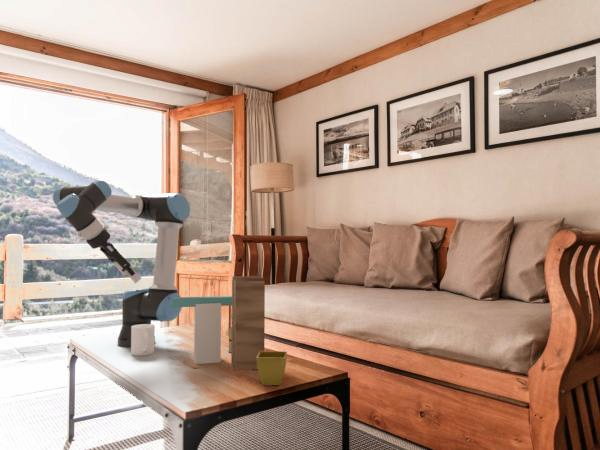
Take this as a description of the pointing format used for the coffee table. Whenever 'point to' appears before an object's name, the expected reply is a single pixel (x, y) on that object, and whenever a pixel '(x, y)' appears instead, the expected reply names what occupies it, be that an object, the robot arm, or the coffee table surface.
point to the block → (201, 301)
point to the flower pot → (271, 367)
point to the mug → (142, 339)
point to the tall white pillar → (207, 333)
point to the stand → (247, 321)
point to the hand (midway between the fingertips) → (132, 276)
